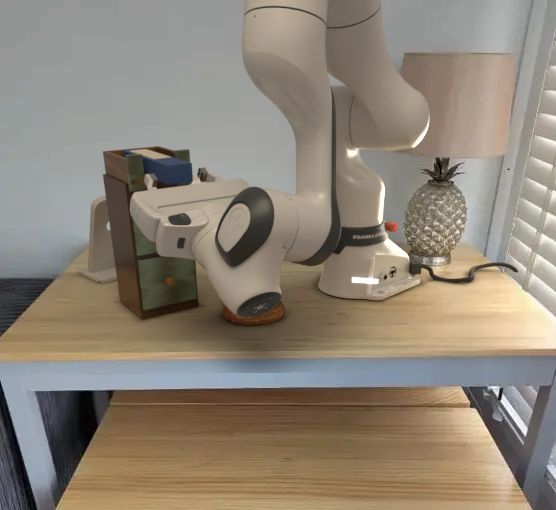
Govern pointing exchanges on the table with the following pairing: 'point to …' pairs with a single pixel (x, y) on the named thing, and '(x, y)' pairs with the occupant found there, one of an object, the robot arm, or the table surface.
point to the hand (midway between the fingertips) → (175, 173)
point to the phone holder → (100, 245)
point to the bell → (256, 320)
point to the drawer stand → (144, 243)
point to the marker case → (164, 166)
